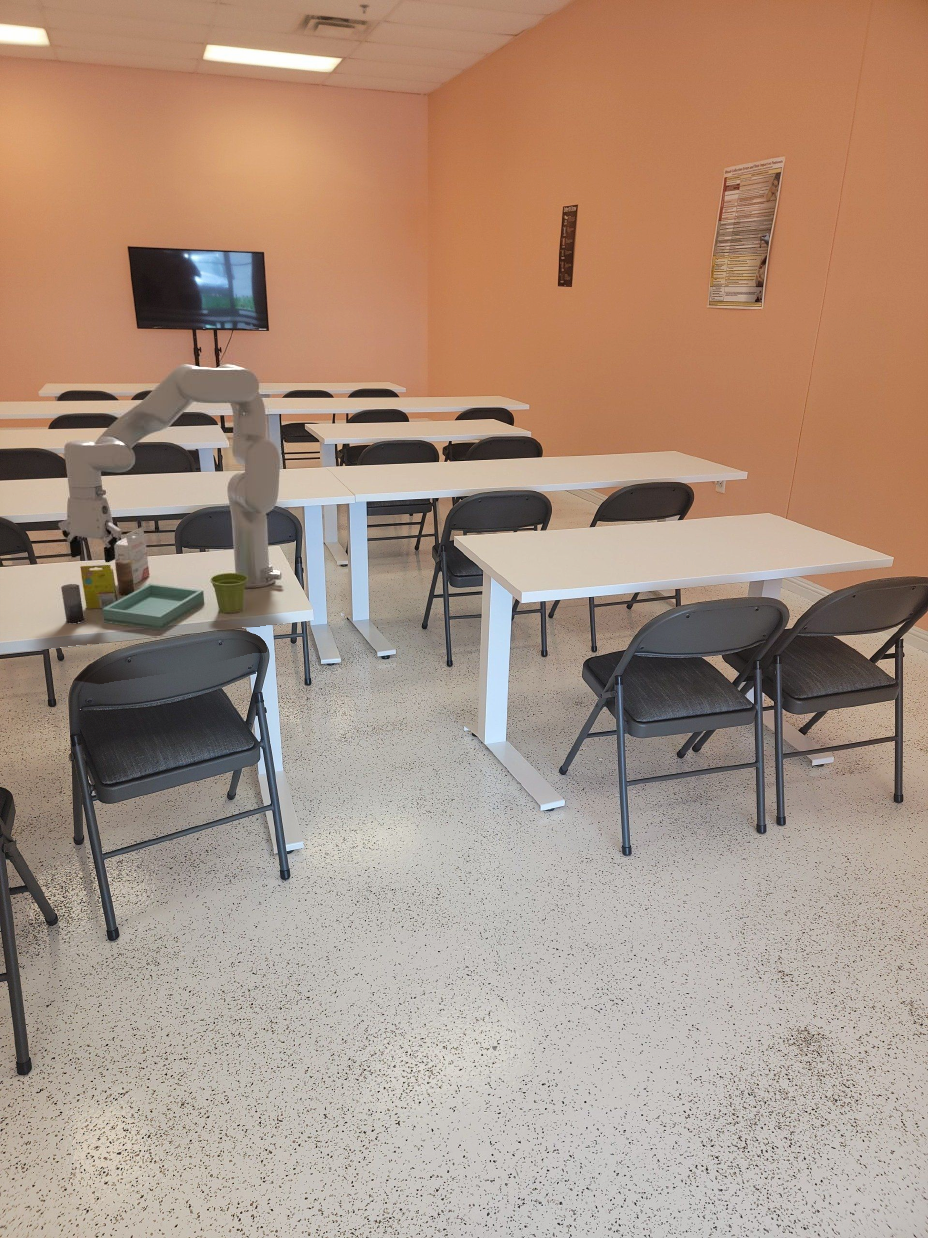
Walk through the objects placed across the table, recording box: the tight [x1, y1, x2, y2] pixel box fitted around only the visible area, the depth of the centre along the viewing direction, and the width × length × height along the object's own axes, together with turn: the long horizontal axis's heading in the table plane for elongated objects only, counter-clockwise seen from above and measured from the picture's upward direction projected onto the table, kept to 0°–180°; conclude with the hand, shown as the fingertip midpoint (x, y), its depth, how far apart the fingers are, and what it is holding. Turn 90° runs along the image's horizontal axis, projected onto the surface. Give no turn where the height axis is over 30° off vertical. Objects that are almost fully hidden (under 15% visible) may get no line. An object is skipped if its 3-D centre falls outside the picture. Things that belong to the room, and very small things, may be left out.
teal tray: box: [101, 583, 205, 631], centre depth 205 cm, size 16×20×4 cm
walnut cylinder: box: [114, 560, 136, 597], centre depth 216 cm, size 4×4×9 cm
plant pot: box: [209, 572, 248, 614], centre depth 208 cm, size 9×9×9 cm
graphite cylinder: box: [60, 583, 85, 624], centre depth 197 cm, size 4×4×9 cm
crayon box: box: [79, 564, 119, 610], centre depth 206 cm, size 7×3×12 cm, turn 106°
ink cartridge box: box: [114, 526, 150, 585], centre depth 225 cm, size 9×5×15 cm, turn 168°
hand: (93, 558), depth 203 cm, fingers open, 9 cm apart
